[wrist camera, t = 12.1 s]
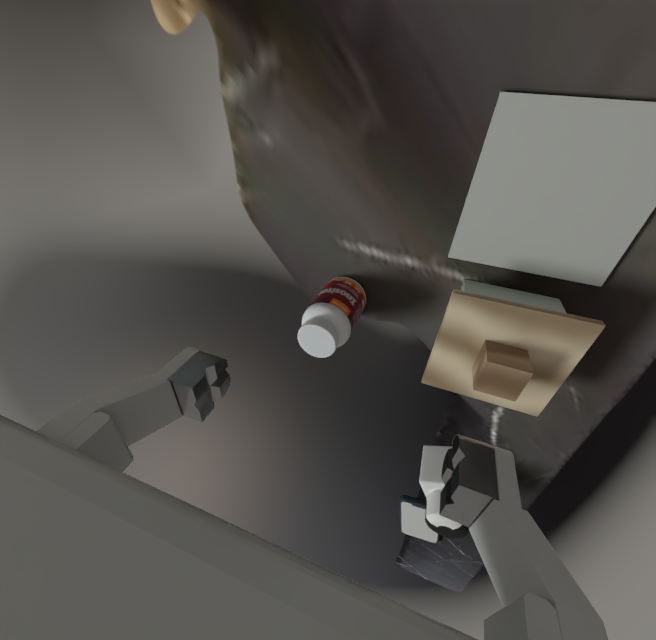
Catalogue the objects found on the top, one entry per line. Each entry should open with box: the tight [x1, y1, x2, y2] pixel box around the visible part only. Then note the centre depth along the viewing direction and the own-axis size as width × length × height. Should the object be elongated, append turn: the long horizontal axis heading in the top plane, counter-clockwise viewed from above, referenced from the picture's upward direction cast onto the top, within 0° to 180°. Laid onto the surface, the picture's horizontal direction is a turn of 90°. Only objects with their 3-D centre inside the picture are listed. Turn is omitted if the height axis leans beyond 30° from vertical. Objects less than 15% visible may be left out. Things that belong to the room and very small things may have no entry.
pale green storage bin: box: [460, 279, 566, 313], centre depth 35 cm, size 10×10×6 cm
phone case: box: [399, 495, 439, 543], centre depth 68 cm, size 9×2×16 cm
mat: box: [448, 92, 656, 287], centre depth 29 cm, size 15×15×1 cm
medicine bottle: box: [419, 445, 468, 538], centre depth 50 cm, size 7×7×12 cm
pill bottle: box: [298, 277, 366, 358], centre depth 39 cm, size 6×6×11 cm
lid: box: [422, 289, 606, 417], centre depth 31 cm, size 13×13×4 cm
